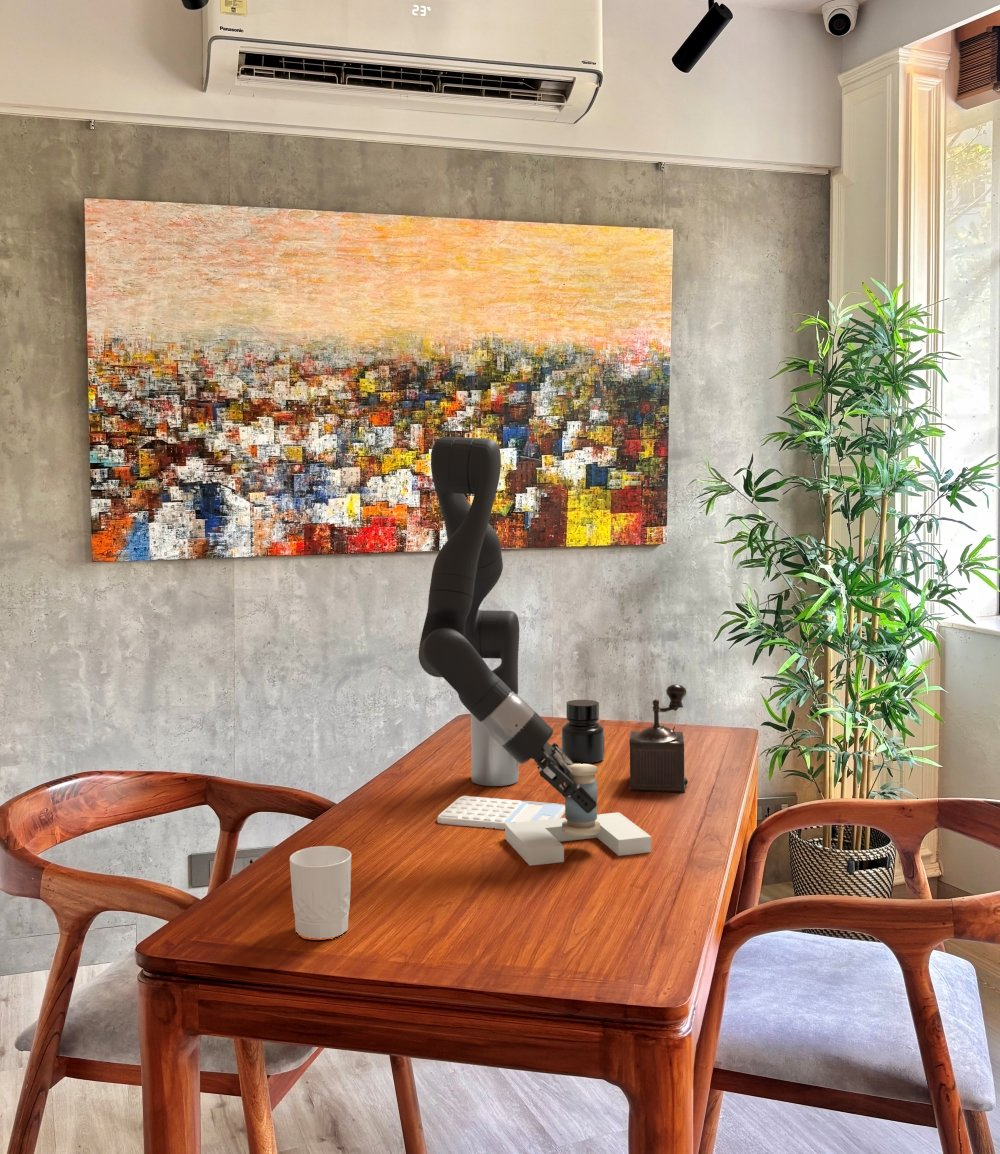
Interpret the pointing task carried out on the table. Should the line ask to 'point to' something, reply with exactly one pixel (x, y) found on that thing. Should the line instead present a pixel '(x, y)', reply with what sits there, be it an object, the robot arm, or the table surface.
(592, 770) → the disc
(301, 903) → the white cup
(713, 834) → the table surface
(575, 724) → the ink bottle
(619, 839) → the notched board
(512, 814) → the calculator
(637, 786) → the manual coffee grinder
